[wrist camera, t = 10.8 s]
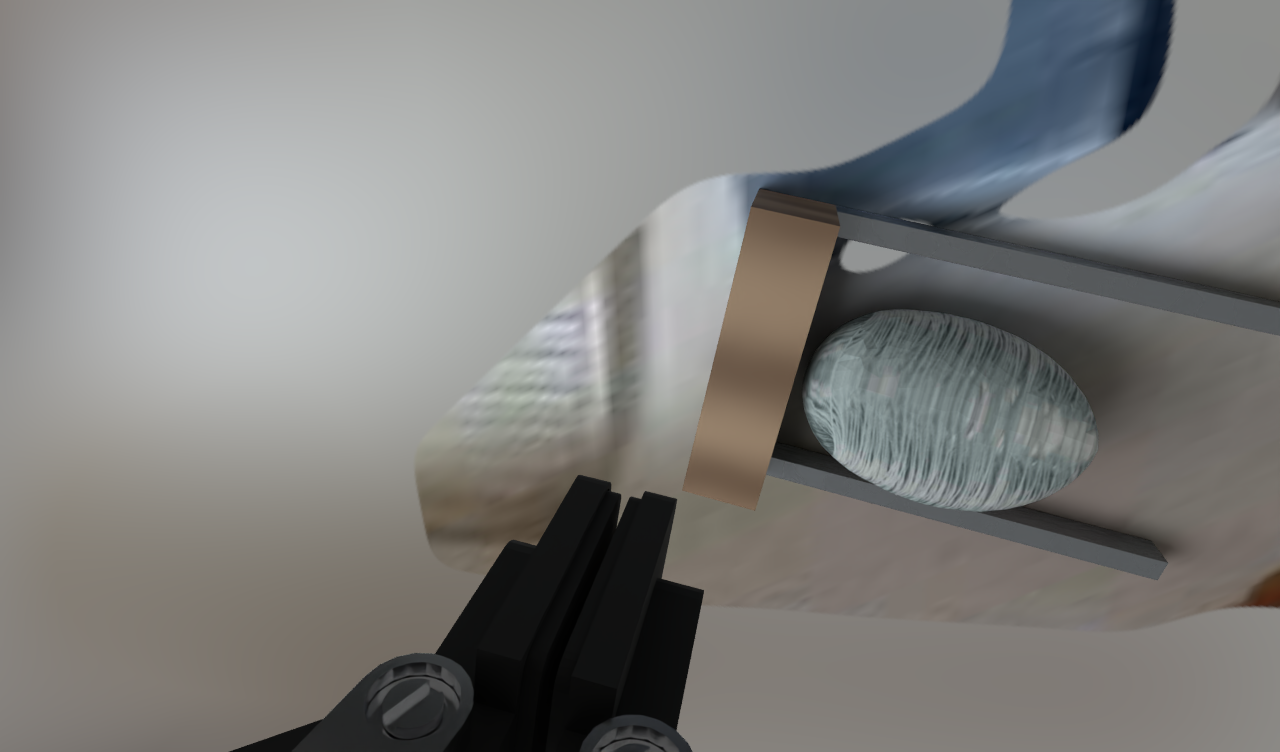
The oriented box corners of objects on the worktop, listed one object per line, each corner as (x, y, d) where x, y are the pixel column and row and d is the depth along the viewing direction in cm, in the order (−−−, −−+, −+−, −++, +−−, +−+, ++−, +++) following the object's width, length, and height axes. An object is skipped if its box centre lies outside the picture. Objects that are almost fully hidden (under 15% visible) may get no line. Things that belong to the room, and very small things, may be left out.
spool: (754, 451, 39) (832, 480, 29) (802, 287, 39) (896, 262, 29) (967, 514, 41) (1107, 561, 31) (1011, 359, 41) (1163, 357, 32)
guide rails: (835, 205, 36) (836, 211, 34) (1294, 304, 33) (1322, 317, 32) (761, 456, 43) (759, 472, 41) (1141, 557, 40) (1157, 580, 38)
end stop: (759, 188, 37) (751, 206, 31) (835, 205, 36) (840, 226, 31) (697, 439, 43) (682, 490, 38) (761, 456, 43) (755, 510, 37)
